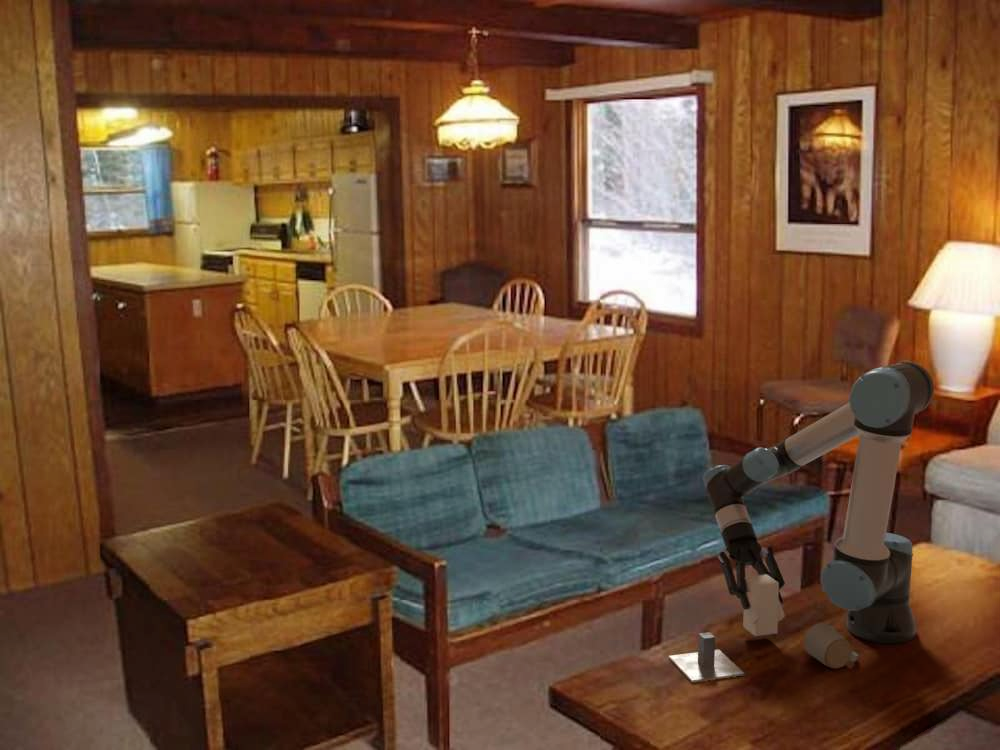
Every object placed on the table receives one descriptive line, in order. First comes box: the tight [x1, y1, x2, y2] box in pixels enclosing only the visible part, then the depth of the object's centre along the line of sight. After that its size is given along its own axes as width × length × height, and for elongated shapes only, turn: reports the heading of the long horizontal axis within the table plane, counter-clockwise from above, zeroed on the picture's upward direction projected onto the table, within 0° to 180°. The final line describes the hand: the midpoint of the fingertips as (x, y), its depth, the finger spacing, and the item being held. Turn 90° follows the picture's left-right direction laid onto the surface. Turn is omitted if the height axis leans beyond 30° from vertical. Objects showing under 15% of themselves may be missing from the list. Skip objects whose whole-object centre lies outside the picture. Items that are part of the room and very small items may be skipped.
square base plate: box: [668, 632, 745, 684], centre depth 228 cm, size 12×12×7 cm
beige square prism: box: [742, 574, 780, 637], centre depth 240 cm, size 6×6×12 cm
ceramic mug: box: [803, 622, 859, 670], centre depth 230 cm, size 11×8×8 cm
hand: (768, 619), depth 237 cm, fingers closed on beige square prism, 6 cm apart
